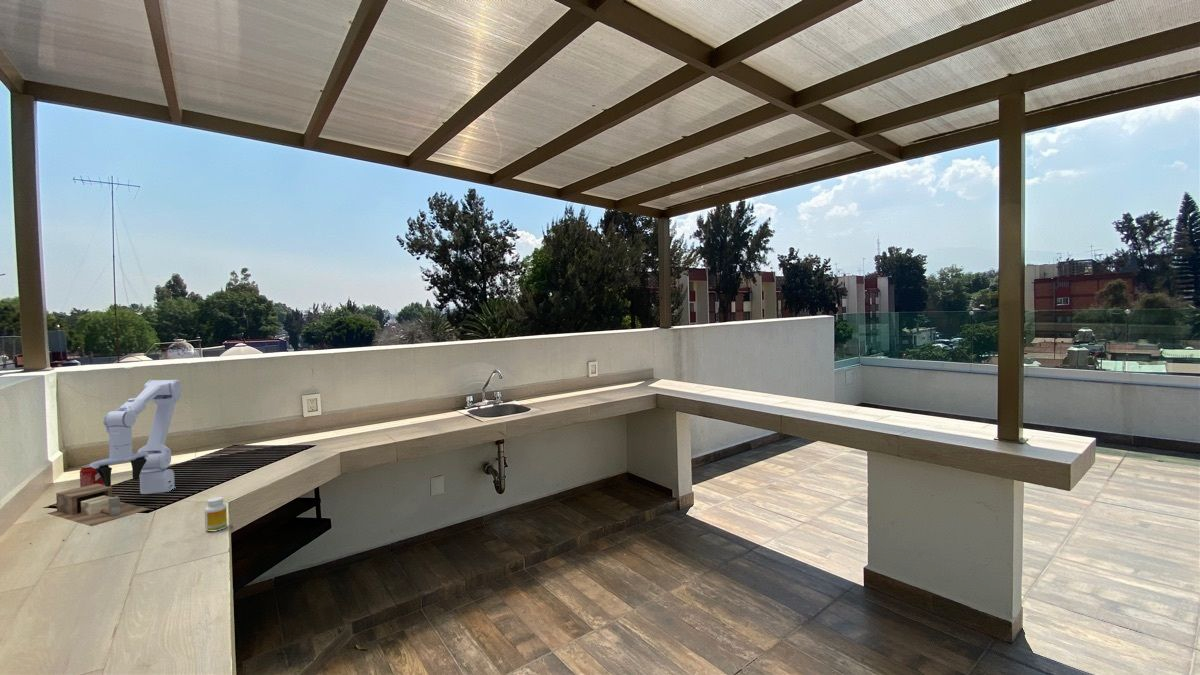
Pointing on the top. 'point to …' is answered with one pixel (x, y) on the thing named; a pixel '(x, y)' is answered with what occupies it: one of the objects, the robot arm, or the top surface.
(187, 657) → the top surface
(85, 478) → the soda can
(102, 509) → the grey handled cream block
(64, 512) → the walnut shelf
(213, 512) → the supplement bottle
